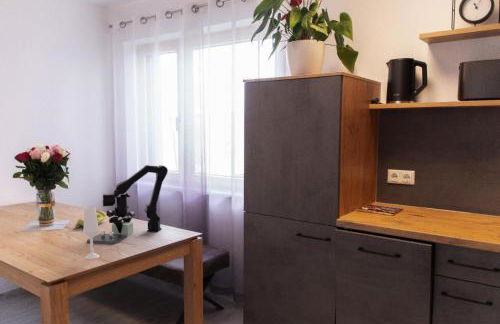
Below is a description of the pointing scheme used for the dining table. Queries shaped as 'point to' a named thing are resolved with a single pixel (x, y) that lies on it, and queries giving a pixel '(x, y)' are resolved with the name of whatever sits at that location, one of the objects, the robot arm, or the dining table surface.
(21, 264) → the dining table surface
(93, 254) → the champagne flute
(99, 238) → the base plate
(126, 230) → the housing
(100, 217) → the yellow banana
